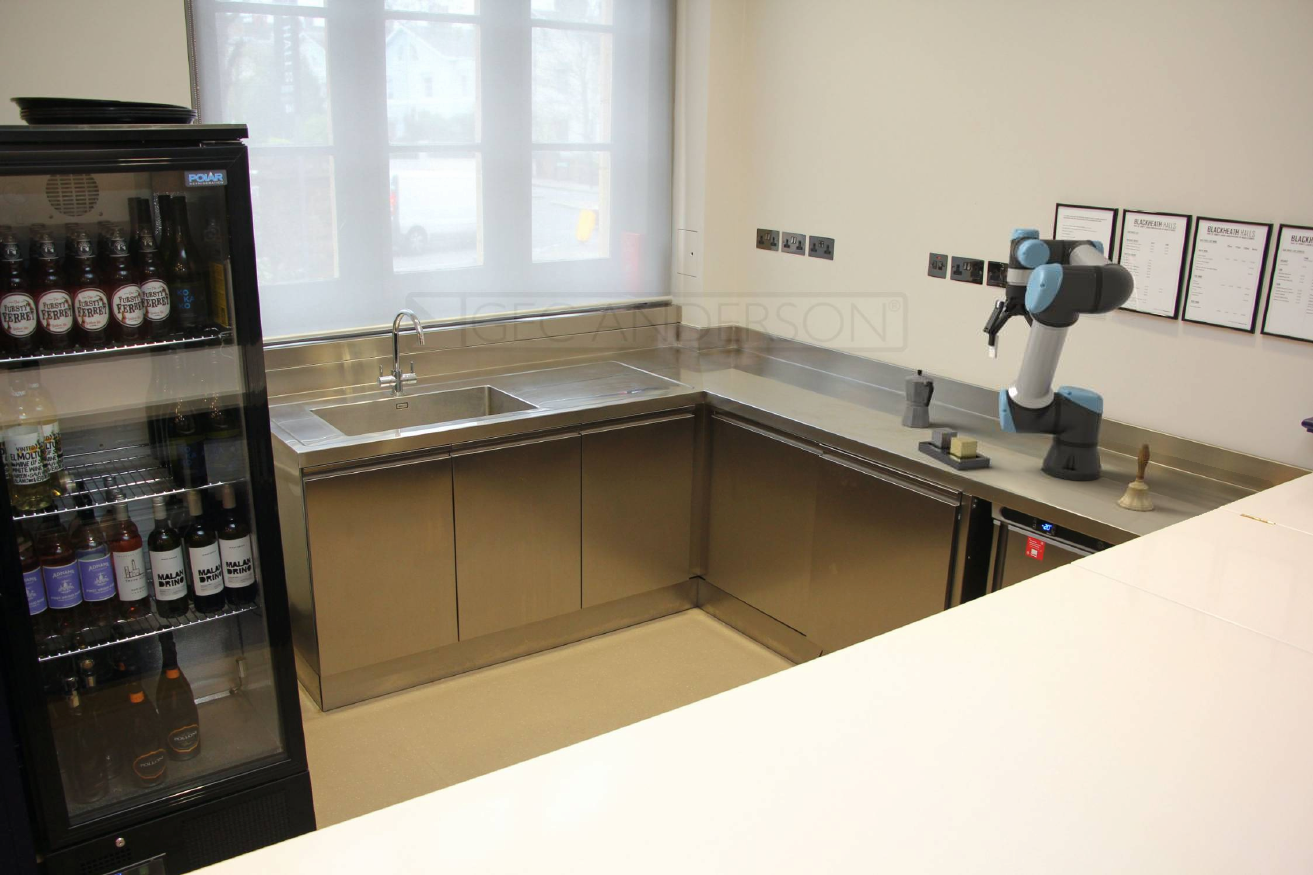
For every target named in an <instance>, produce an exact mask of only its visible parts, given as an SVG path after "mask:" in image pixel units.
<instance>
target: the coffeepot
mask: <svg viewBox="0 0 1313 875" xmlns="http://www.w3.org/2000/svg"><path fill="white" fill-rule="evenodd" d="M922 374H923V369H917V374H915V375H913V374H912V375H907V376H905V377H904V388H905V389H904V390H905V399H906V403H905V405H904V409H903V414H902V417H901V425H902V426H904V427H906V428H913V429H925V428H928V427H930V426H931V423H930V412H929V406H930V404H931V401H932V397H933V395H934V391H935V387H934V383H935V382H934V381H935V380H934V378H933V377H929V376H925V375H922Z"/></svg>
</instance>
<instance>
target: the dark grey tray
mask: <svg viewBox="0 0 1313 875" xmlns="http://www.w3.org/2000/svg"><path fill="white" fill-rule="evenodd" d="M917 446H918V448H917V451H918V452H920V453H922V454H924V455H926V456H929V457H930V458H933V459H934V460H936V461H938V462H940V463H942V464H944V465H946V466H948V467H950V468H952V469H954V470H956V471H966V470H968V471H969V470H977V469H987V468H988V469H989V468H990V463H991V458H989V457H988V456H985V455H983V454H981V453H979V452H976V458H973V459H963V460H960V459H958V458H956V457H954V456H952V455H950V449H942V450H939V449H937V448H935V447H933V446H931V440H927V441H918V445H917Z"/></svg>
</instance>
